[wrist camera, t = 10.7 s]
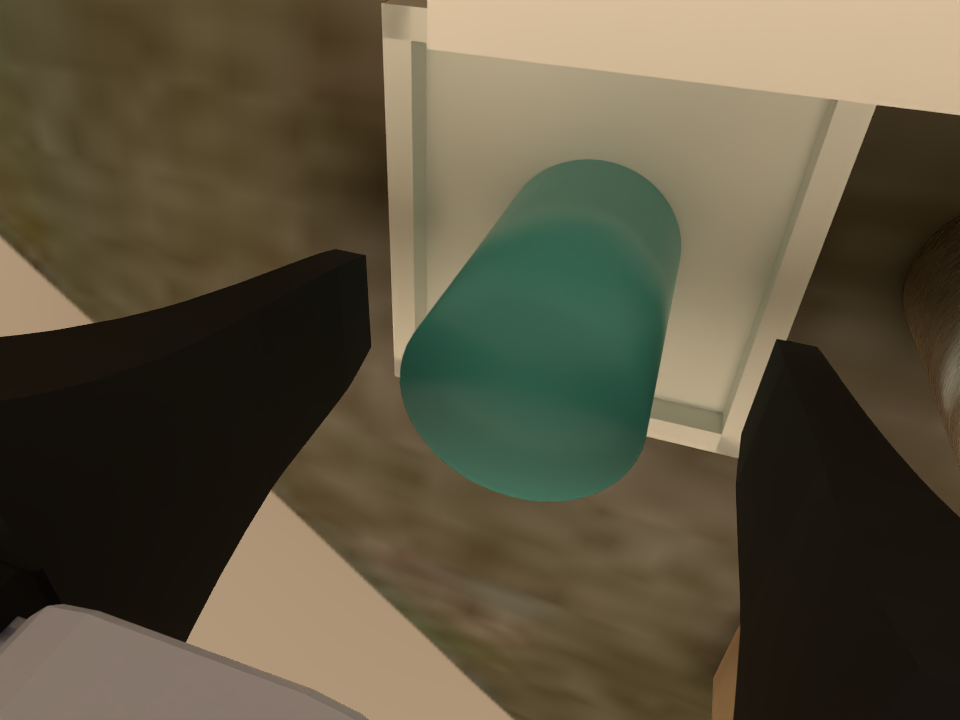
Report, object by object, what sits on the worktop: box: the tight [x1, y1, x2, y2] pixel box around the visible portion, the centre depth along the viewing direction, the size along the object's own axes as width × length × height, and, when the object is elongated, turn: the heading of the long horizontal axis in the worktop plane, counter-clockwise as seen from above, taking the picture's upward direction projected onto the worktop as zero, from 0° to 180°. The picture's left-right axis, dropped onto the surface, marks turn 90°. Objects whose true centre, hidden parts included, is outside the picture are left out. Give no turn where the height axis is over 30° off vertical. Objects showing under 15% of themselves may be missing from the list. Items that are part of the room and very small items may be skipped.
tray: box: [381, 0, 876, 458], centre depth 15 cm, size 9×9×1 cm
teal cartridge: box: [400, 159, 681, 502], centre depth 13 cm, size 4×4×6 cm
